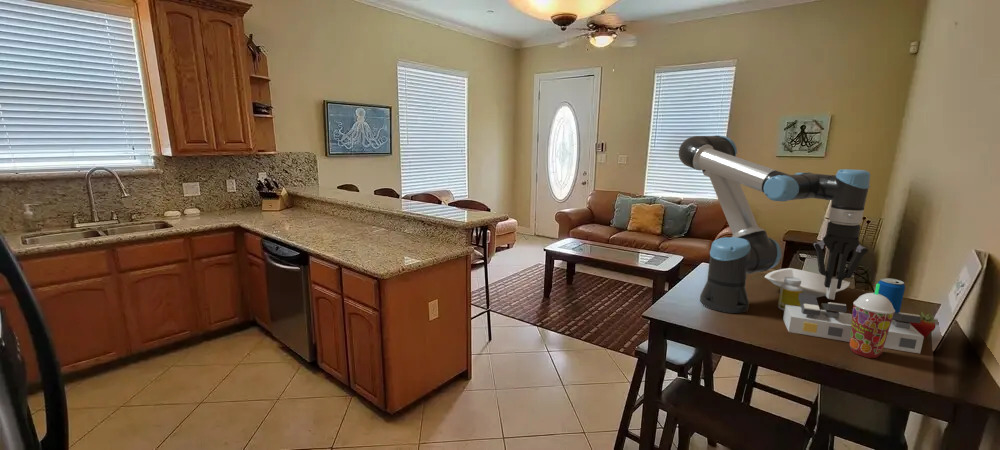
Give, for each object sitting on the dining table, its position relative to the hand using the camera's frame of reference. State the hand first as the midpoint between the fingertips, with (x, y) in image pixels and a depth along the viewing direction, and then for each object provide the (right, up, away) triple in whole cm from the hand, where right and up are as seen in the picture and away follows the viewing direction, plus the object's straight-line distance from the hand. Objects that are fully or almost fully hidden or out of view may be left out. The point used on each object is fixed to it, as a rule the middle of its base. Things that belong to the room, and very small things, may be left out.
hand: (830, 297), depth 127 cm
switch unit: (+2, -11, -3) cm, 11 cm away
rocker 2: (-1, -2, -3) cm, 4 cm away
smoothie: (-1, -13, -13) cm, 19 cm away
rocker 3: (+13, -4, -10) cm, 17 cm away
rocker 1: (-7, -2, 0) cm, 7 cm away
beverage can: (+27, -8, +11) cm, 30 cm away
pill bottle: (-2, -7, +15) cm, 17 cm away
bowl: (+14, -4, +30) cm, 33 cm away
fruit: (+22, -11, -5) cm, 26 cm away
